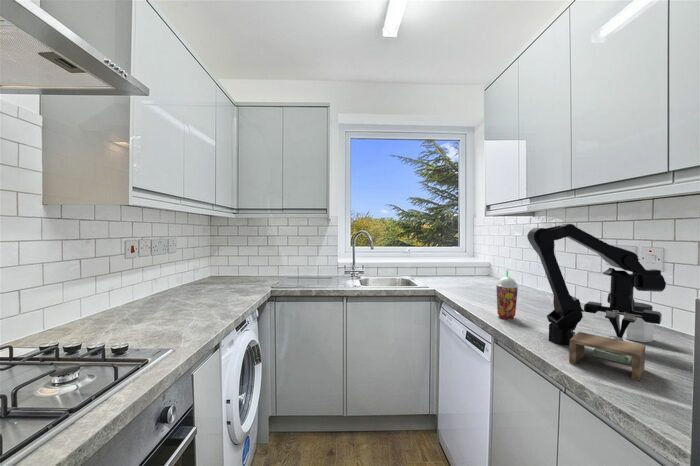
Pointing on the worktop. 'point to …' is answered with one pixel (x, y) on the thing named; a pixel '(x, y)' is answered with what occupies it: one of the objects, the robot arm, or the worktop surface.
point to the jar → (639, 326)
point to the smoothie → (506, 297)
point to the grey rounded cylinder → (616, 339)
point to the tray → (611, 356)
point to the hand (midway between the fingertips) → (619, 338)
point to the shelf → (610, 345)
